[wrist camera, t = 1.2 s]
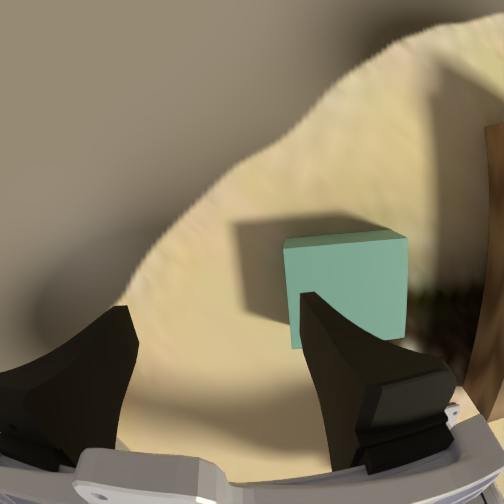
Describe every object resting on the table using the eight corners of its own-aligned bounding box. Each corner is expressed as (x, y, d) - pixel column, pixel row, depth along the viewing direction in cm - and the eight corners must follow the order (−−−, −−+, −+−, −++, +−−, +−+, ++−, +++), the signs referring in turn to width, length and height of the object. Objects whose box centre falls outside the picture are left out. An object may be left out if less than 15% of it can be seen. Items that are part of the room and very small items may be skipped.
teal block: (389, 315, 23) (404, 337, 20) (292, 324, 25) (291, 349, 21) (389, 228, 22) (407, 238, 18) (285, 237, 23) (282, 248, 19)
